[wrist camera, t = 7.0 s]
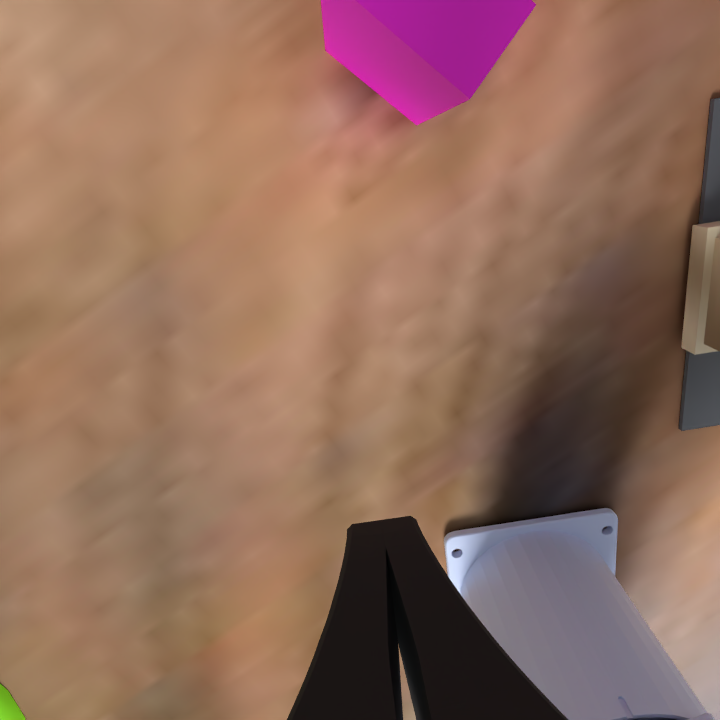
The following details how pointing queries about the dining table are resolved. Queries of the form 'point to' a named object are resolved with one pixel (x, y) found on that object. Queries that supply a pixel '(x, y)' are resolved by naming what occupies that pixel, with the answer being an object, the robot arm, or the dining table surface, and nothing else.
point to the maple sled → (703, 291)
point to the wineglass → (9, 706)
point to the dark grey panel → (714, 369)
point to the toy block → (421, 47)
